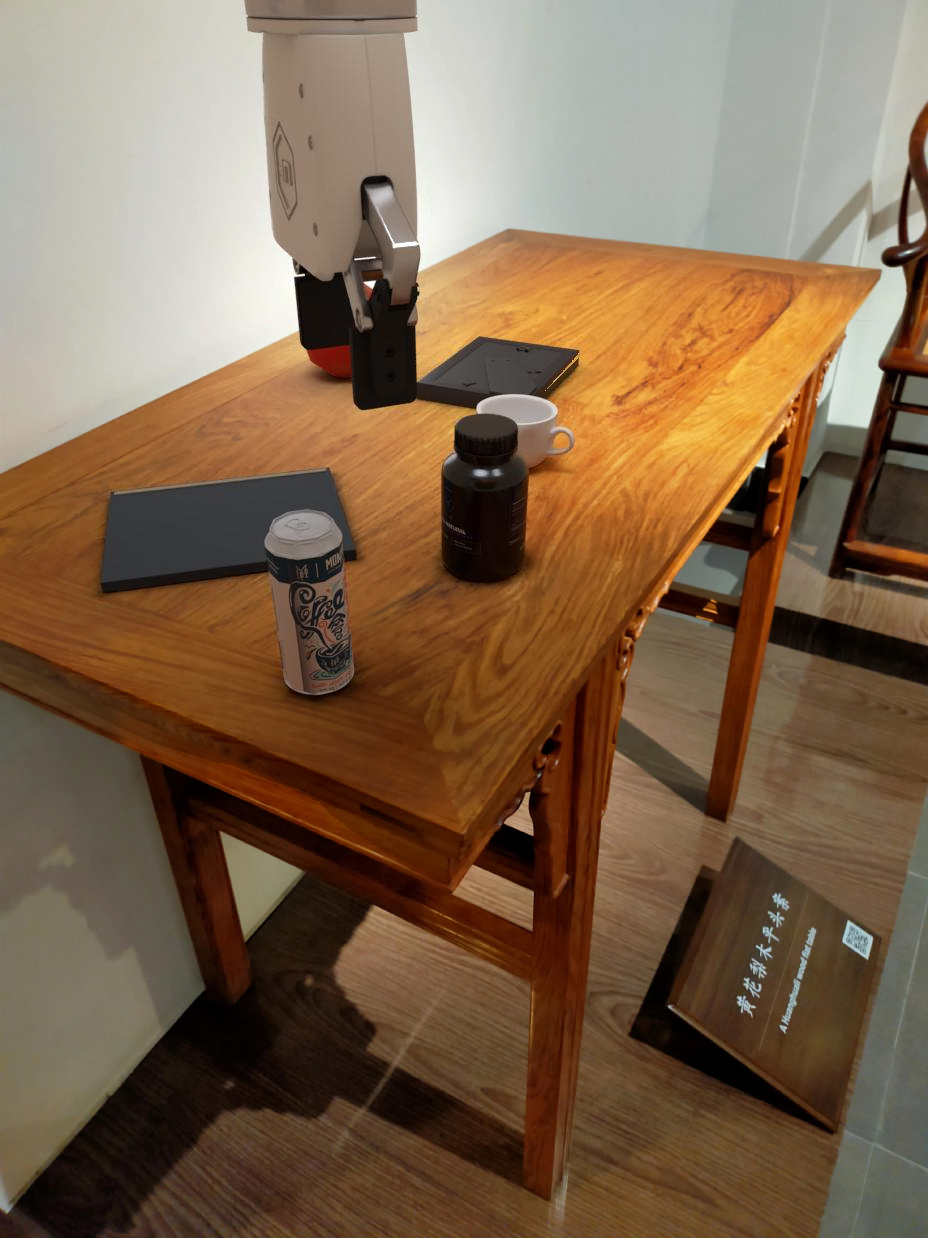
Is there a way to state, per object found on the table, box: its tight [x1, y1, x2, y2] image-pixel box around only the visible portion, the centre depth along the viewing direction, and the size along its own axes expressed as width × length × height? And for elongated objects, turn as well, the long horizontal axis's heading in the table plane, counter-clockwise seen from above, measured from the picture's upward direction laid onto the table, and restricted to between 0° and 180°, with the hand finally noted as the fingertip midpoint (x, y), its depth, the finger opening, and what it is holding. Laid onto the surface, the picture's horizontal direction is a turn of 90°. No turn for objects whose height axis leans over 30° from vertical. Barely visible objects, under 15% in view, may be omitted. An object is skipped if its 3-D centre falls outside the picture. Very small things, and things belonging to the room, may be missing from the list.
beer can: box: [265, 509, 355, 696], centre depth 61 cm, size 5×5×12 cm
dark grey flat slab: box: [100, 466, 358, 594], centre depth 81 cm, size 20×16×1 cm
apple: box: [306, 282, 373, 379], centre depth 110 cm, size 10×10×12 cm
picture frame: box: [416, 335, 580, 409], centre depth 110 cm, size 13×2×18 cm
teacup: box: [475, 394, 576, 470], centre depth 91 cm, size 10×8×5 cm
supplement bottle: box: [440, 413, 530, 582], centre depth 74 cm, size 7×7×12 cm
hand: (355, 373), depth 51 cm, fingers open, 9 cm apart
